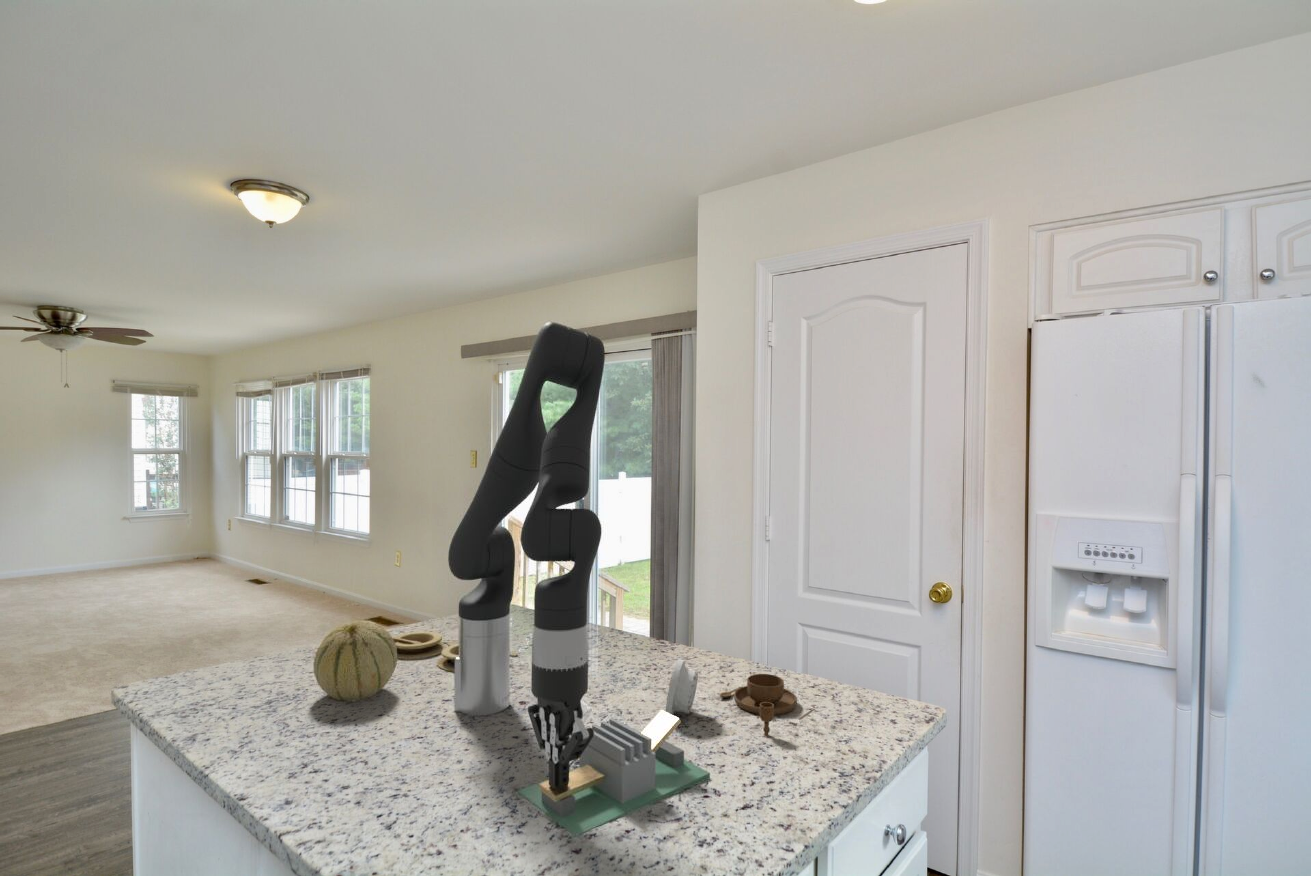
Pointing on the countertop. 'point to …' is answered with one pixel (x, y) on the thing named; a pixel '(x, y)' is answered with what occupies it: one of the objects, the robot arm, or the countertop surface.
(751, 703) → the place setting
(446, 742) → the countertop surface
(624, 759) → the board
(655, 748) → the wooden block
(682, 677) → the mechanical component
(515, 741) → the countertop surface
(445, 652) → the tableware set
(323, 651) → the cantaloupe
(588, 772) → the left strap
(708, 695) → the countertop surface
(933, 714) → the countertop surface
